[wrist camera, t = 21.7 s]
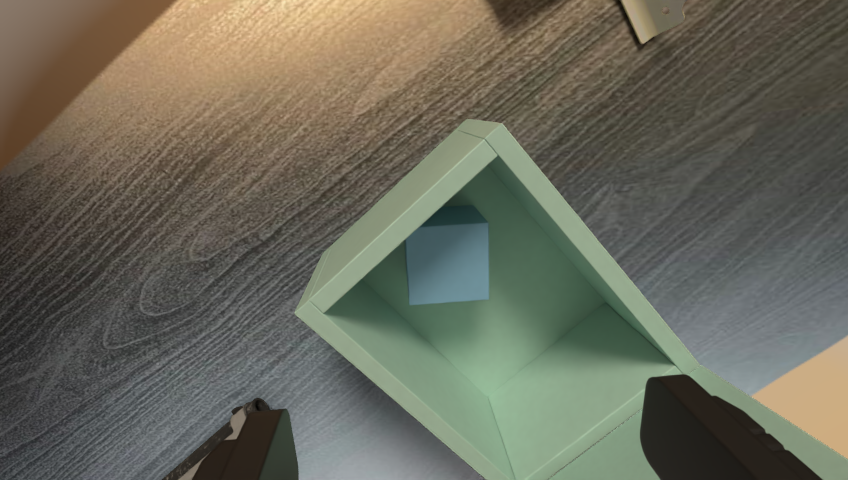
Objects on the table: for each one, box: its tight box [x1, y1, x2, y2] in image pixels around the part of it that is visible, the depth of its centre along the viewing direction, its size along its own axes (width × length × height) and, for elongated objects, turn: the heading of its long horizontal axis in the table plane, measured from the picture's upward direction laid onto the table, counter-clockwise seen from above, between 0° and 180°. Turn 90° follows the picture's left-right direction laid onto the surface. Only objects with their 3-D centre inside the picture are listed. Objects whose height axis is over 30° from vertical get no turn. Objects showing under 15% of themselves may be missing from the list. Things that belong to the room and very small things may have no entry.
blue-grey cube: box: [404, 205, 489, 305], centre depth 26 cm, size 5×5×5 cm
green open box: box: [294, 119, 700, 480], centre depth 26 cm, size 17×13×9 cm
